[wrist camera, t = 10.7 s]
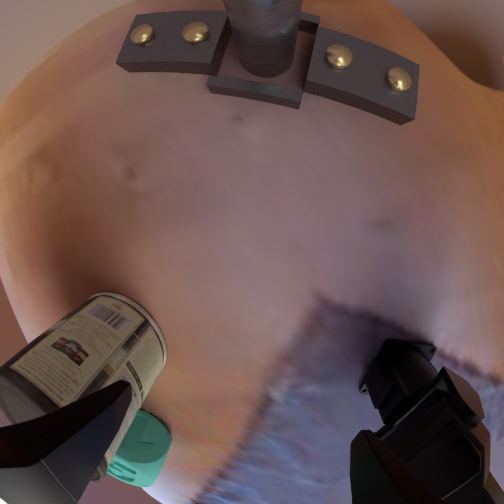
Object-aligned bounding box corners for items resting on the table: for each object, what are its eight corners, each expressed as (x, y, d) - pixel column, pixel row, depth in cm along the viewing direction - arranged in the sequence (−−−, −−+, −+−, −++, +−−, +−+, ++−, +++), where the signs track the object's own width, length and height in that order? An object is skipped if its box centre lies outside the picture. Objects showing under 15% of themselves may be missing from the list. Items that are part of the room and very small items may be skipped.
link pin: (310, 53, 16) (353, -92, 2) (273, 93, 17) (269, -62, 3) (261, 24, 16) (242, -117, 1) (222, 61, 17) (151, -77, 2)
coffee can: (99, 372, 25) (34, 453, 11) (70, 290, 23) (-29, 357, 9) (178, 384, 24) (127, 498, 10) (155, 291, 22) (49, 399, 8)
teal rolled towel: (177, 426, 26) (158, 477, 18) (162, 450, 28) (145, 492, 20) (118, 395, 26) (88, 439, 18) (111, 423, 28) (87, 462, 20)
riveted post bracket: (407, 61, 15) (422, 47, 12) (397, 143, 17) (415, 137, 14) (153, 14, 16) (140, -1, 13) (124, 88, 18) (105, 77, 15)
